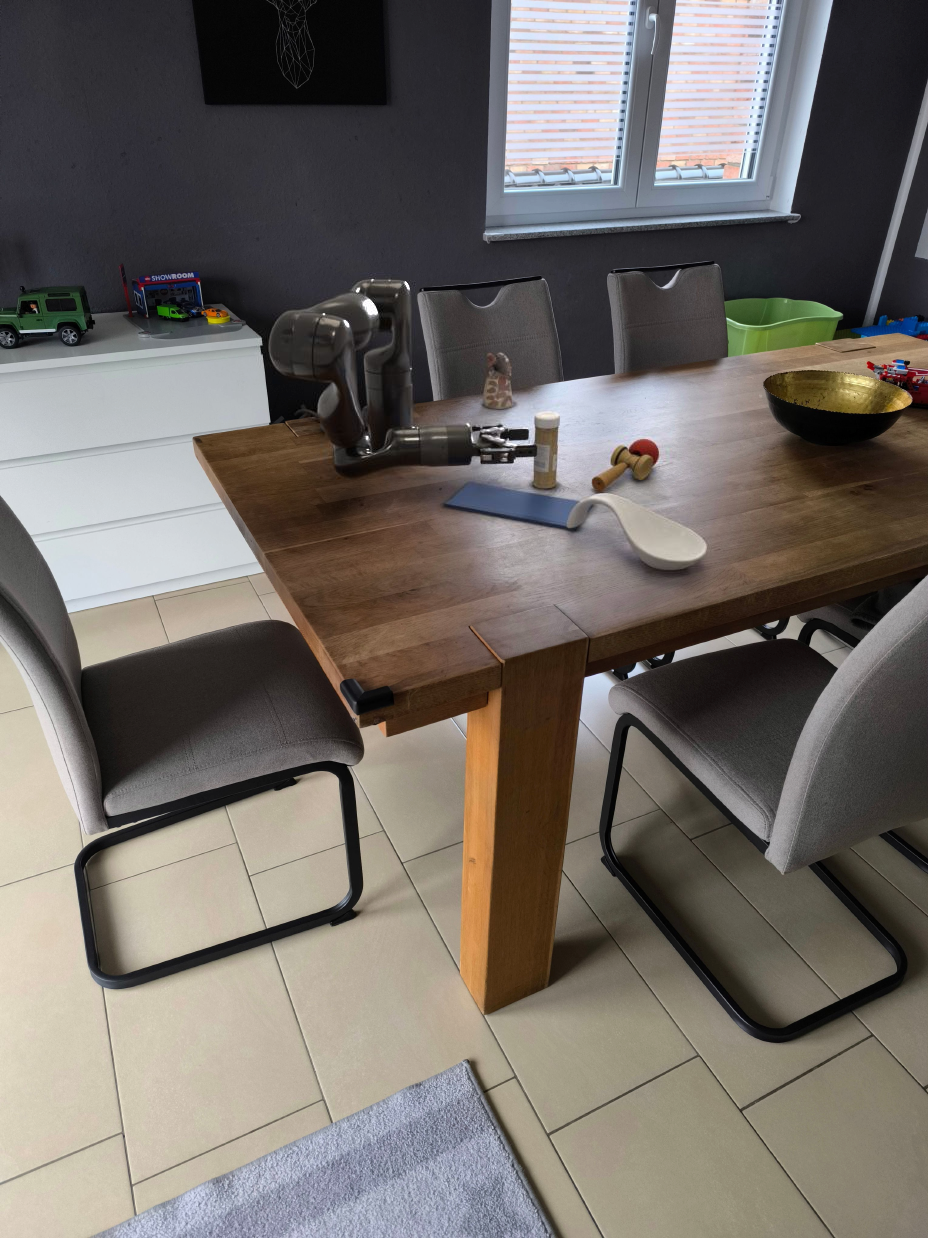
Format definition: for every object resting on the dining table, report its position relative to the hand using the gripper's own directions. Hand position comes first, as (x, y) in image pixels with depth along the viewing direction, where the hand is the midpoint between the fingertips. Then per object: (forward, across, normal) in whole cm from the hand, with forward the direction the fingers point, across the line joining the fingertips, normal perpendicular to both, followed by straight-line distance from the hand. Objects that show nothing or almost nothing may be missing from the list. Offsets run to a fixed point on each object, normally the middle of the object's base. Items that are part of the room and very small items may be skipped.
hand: (532, 441), depth 152 cm
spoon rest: (+11, -28, +8) cm, 32 cm away
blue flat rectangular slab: (-4, -9, +8) cm, 13 cm away
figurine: (+1, +48, +9) cm, 49 cm away
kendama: (+18, +1, +9) cm, 20 cm away
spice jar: (+3, 0, +9) cm, 9 cm away
